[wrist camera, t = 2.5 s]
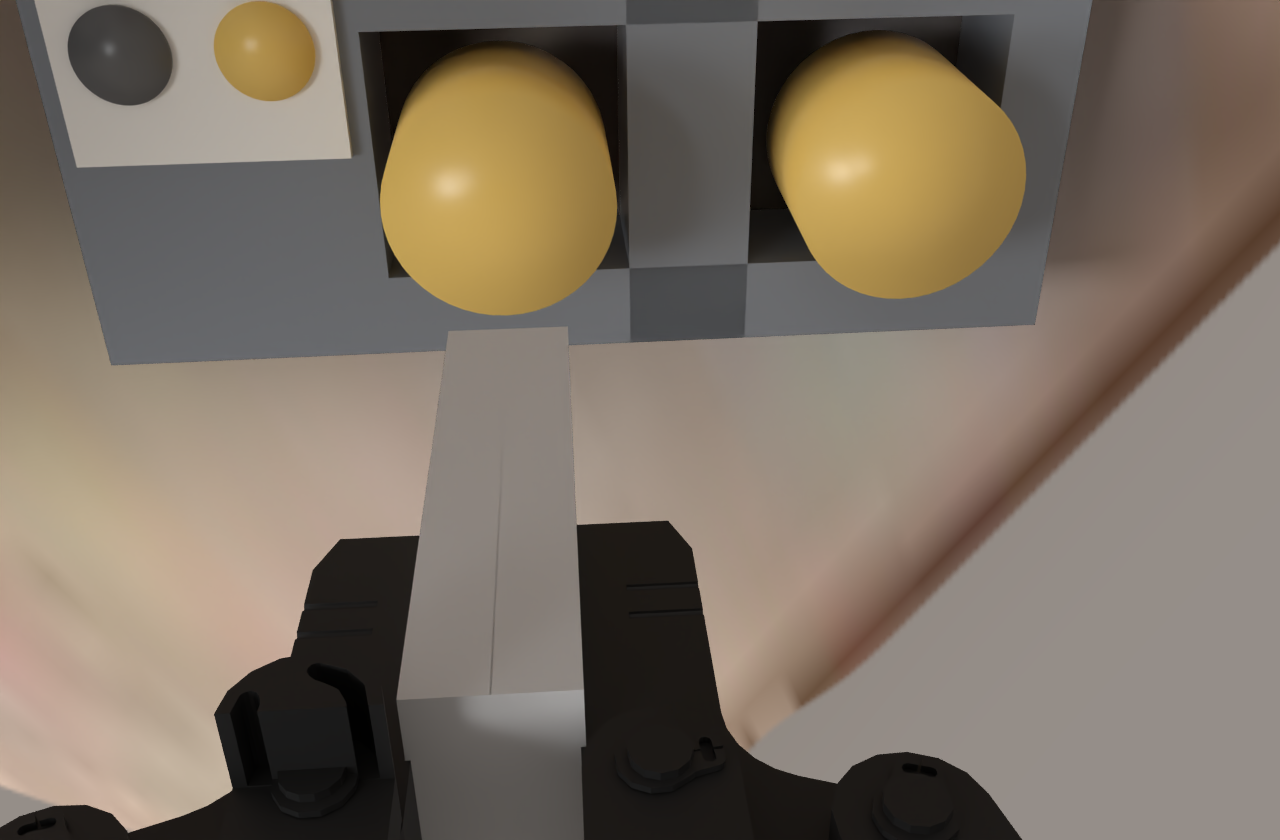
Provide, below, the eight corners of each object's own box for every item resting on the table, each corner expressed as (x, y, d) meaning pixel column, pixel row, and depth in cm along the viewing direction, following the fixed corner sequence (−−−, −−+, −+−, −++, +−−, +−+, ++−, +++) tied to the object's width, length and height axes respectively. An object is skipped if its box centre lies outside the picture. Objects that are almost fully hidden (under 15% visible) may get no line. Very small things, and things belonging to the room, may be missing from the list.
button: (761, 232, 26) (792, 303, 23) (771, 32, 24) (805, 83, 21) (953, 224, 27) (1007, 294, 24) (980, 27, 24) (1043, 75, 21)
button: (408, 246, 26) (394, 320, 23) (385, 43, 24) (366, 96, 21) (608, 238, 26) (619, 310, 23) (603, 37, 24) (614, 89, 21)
